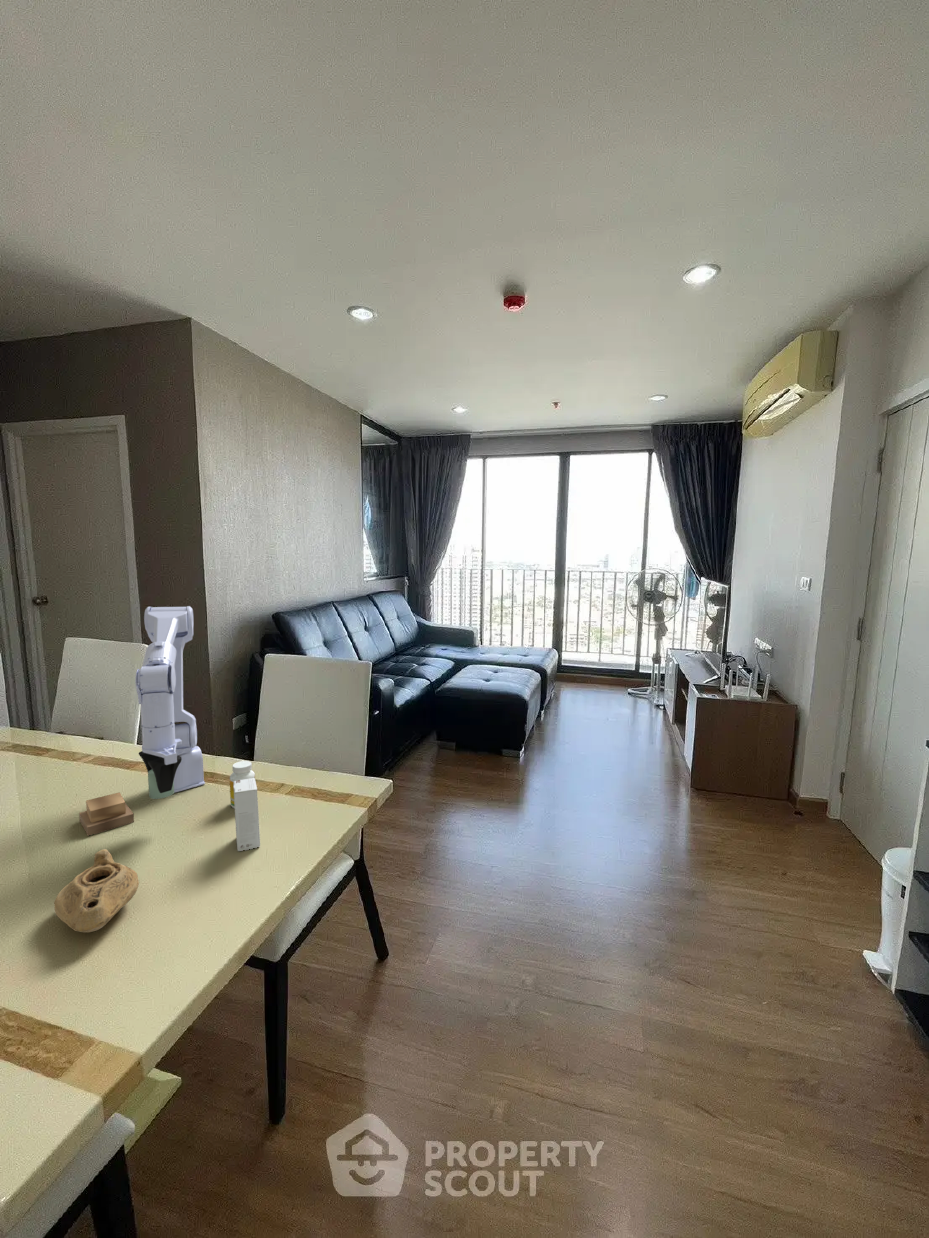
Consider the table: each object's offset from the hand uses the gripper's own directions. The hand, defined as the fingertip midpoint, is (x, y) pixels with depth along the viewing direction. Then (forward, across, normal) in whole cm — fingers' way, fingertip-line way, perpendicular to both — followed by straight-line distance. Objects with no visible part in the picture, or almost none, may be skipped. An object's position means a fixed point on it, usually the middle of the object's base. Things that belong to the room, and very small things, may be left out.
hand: (161, 787), depth 106 cm
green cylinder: (+1, 0, 0) cm, 1 cm away
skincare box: (+9, -17, -10) cm, 22 cm away
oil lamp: (+9, -22, +15) cm, 28 cm away
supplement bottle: (+9, -1, -16) cm, 19 cm away
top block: (+7, +11, +8) cm, 15 cm away
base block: (+10, +11, +8) cm, 16 cm away
